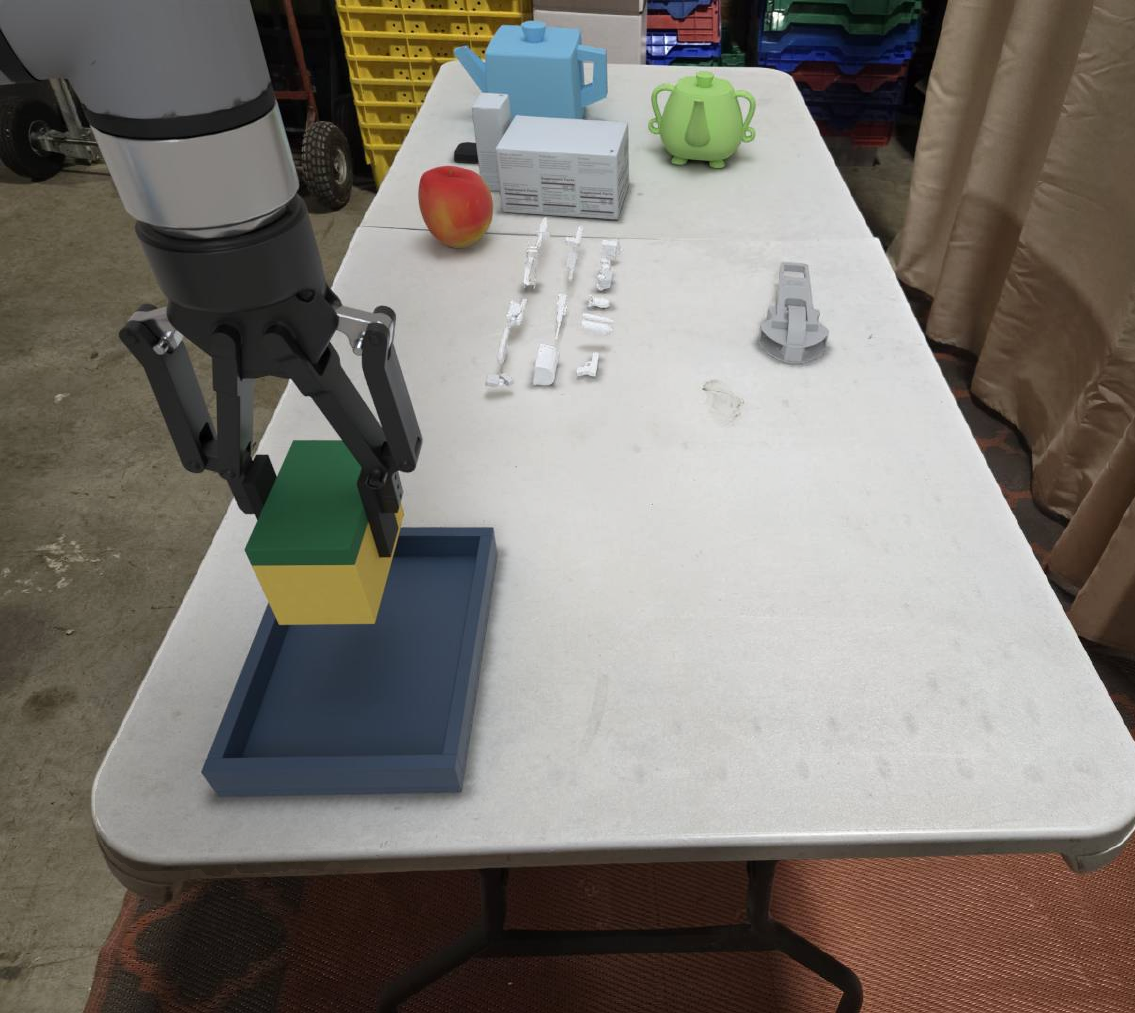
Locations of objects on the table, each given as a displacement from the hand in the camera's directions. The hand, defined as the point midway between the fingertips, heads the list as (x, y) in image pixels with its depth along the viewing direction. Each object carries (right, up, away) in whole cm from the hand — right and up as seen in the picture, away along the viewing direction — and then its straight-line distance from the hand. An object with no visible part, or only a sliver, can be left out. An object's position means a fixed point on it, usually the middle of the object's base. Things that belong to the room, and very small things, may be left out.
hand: (337, 542), depth 56 cm
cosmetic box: (-4, +51, +72) cm, 88 cm away
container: (-2, +69, +90) cm, 114 cm away
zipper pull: (+36, +25, +47) cm, 64 cm away
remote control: (-5, +57, +78) cm, 97 cm away
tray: (-1, -9, +9) cm, 13 cm away
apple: (-7, +38, +58) cm, 69 cm away
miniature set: (+9, +25, +46) cm, 53 cm away
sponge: (0, -2, +2) cm, 2 cm away
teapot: (+26, +59, +82) cm, 104 cm away
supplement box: (+6, +48, +69) cm, 84 cm away
